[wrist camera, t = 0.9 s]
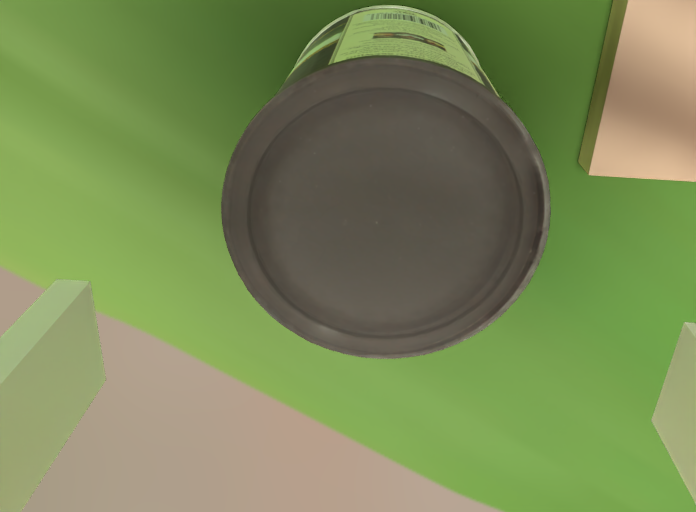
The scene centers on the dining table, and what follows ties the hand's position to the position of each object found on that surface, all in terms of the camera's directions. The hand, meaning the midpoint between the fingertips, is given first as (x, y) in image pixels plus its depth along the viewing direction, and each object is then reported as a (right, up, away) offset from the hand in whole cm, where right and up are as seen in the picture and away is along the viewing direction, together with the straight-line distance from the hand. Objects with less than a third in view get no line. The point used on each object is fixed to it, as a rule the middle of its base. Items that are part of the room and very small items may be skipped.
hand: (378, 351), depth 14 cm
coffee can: (+1, +10, +18) cm, 21 cm away
